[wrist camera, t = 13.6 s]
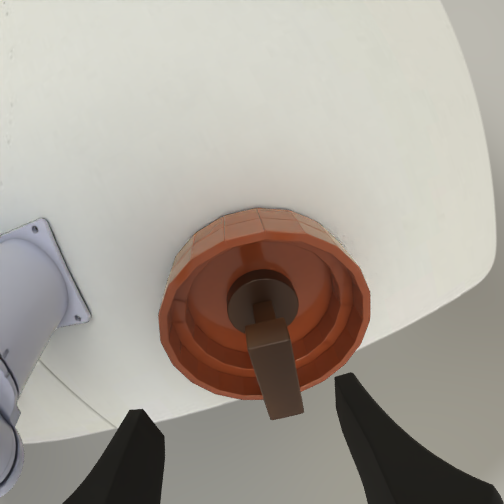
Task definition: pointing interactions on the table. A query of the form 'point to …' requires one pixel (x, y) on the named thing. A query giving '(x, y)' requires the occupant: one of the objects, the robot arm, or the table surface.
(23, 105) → the table surface
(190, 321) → the bowl
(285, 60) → the table surface
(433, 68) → the table surface
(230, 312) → the brown lever knob
